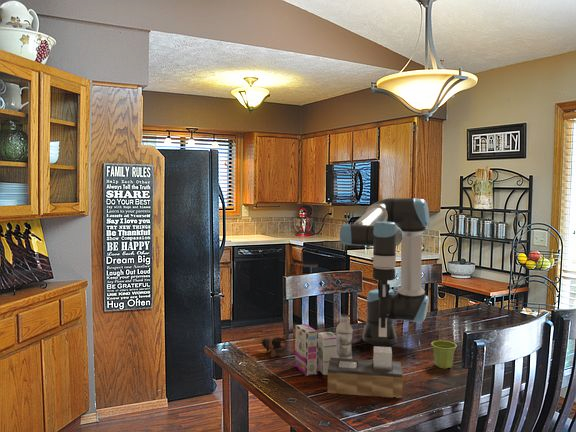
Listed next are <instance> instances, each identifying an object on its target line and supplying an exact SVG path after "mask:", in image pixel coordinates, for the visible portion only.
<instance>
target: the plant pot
mask: <svg viewBox="0 0 576 432" xmlns="http://www.w3.org/2000/svg"><path fill="white" fill-rule="evenodd" d="M430 344H431V346H432V350H433V357H434V364H435V366H436V367H438V368H439V369H445V370H446V369H448V368H450V369H451V368H452V367H453V361H454V355H455V351H456V349H457V344H456V343H455V342H452V341H449V340H434V341H432V342H431V343H430Z"/></svg>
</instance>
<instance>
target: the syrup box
mask: <svg viewBox="0 0 576 432" xmlns="http://www.w3.org/2000/svg"><path fill="white" fill-rule="evenodd" d="M337 347H338V343H337V334H335V333H334V332H332V331H322V332H318V368H317V371H318V372H319V373H321V374H322V375H323V376H328V367H329V362H330V358H337Z"/></svg>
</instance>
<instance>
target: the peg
mask: <svg viewBox="0 0 576 432" xmlns="http://www.w3.org/2000/svg"><path fill="white" fill-rule="evenodd" d="M372 360H373V370H385V371H392V361H393V349H392V347H391V346H379V345H373V359H372Z"/></svg>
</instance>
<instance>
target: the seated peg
mask: <svg viewBox="0 0 576 432" xmlns="http://www.w3.org/2000/svg"><path fill="white" fill-rule="evenodd" d="M338 368H354V369H357V362H347V361H339V367H338Z"/></svg>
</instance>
